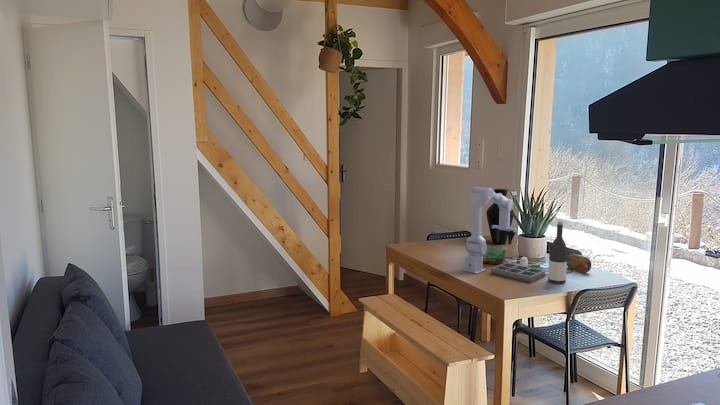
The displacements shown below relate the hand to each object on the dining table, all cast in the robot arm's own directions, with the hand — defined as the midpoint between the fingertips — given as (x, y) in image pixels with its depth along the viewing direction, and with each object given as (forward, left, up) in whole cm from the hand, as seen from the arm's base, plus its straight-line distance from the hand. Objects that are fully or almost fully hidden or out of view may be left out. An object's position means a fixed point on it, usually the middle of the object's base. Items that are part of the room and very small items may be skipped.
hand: (503, 243), depth 286 cm
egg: (-6, -16, -10) cm, 19 cm away
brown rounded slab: (+9, -39, -10) cm, 41 cm away
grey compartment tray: (-20, -20, -10) cm, 30 cm away
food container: (-9, 0, -10) cm, 14 cm away
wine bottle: (-17, -39, -10) cm, 43 cm away
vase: (+35, +22, -10) cm, 43 cm away
